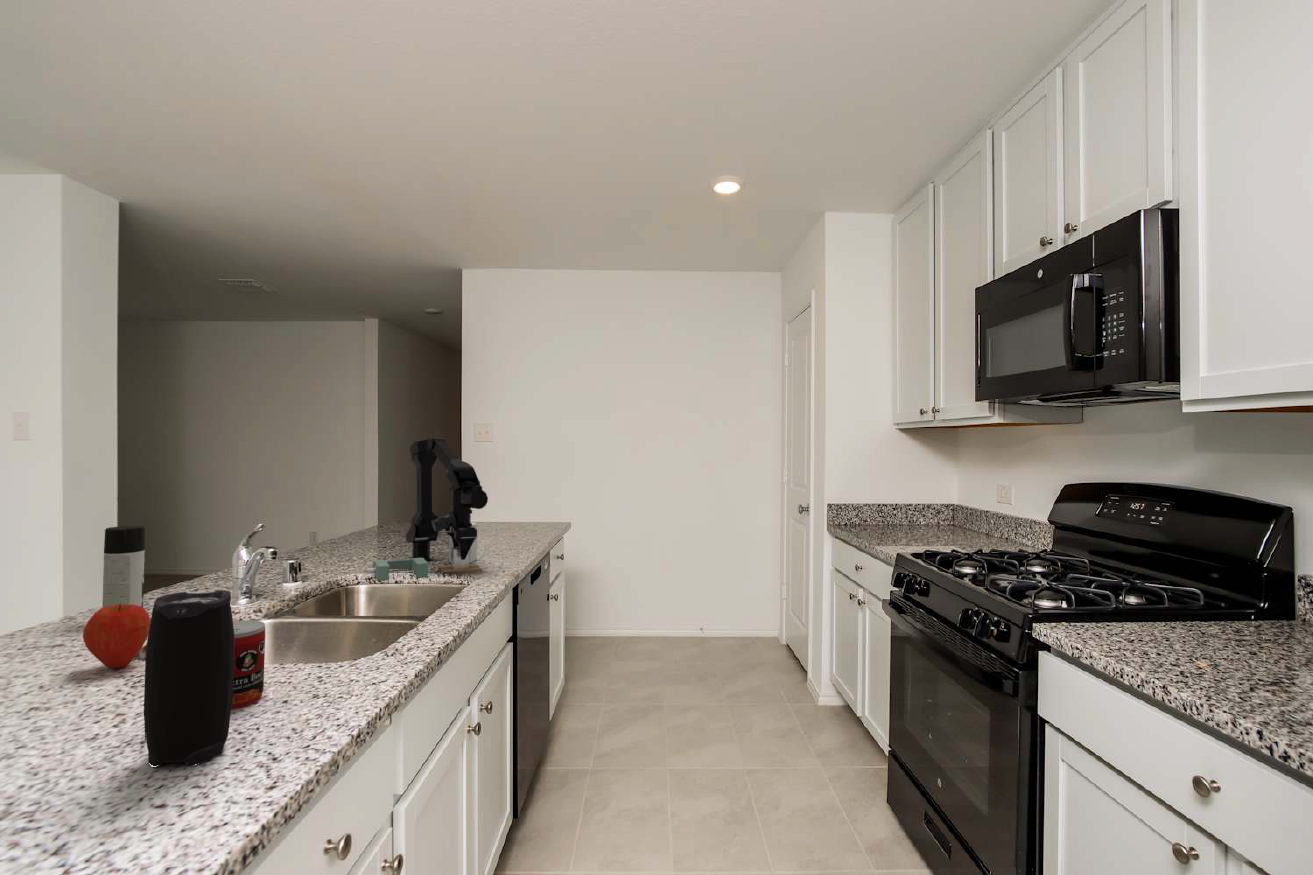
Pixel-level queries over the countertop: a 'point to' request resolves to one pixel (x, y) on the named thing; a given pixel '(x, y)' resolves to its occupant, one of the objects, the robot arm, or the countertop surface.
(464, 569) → the copper plate
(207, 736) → the portable speaker
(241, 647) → the canned food
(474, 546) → the supplement box
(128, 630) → the apple
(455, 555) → the steel block
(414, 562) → the vise
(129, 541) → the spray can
